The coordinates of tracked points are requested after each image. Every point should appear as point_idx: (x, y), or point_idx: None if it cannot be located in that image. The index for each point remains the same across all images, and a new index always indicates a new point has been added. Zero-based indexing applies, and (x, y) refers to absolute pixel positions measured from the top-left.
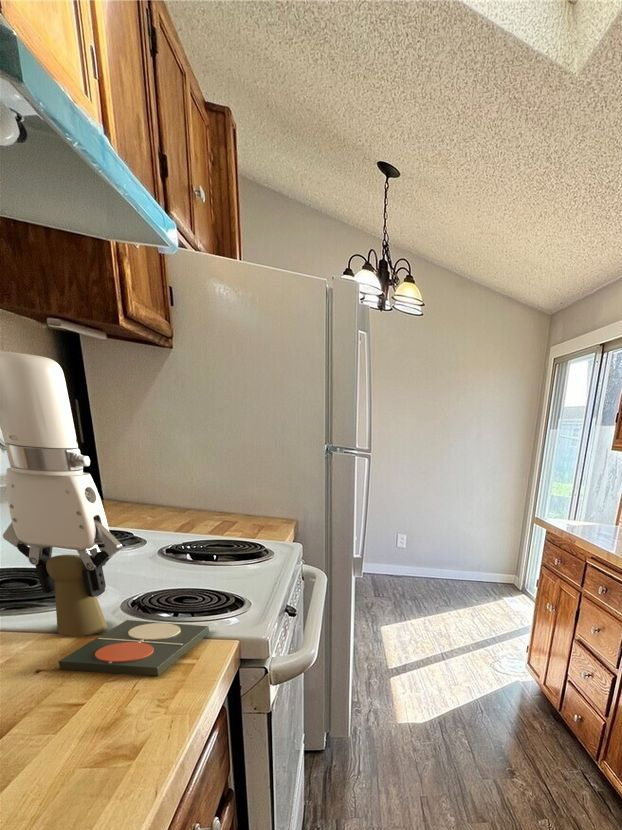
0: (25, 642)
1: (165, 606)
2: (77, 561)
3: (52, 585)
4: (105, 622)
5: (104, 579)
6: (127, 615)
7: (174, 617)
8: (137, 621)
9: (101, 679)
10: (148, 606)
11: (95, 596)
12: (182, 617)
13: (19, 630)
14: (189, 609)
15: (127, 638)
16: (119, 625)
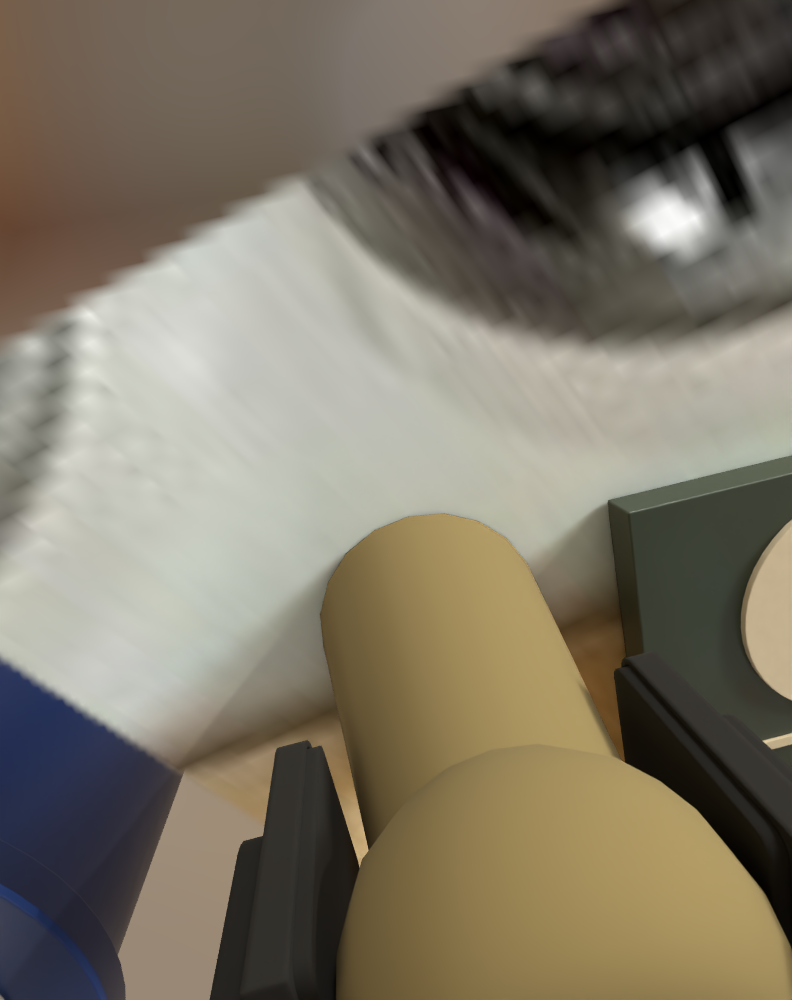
0: (347, 826)
1: (572, 35)
2: None
3: (348, 864)
4: (523, 563)
5: (778, 757)
6: (474, 333)
7: (744, 237)
8: (697, 512)
9: None
10: (468, 94)
11: (580, 676)
12: (788, 213)
13: (193, 747)
14: (756, 22)
15: (781, 714)
16: (649, 602)
